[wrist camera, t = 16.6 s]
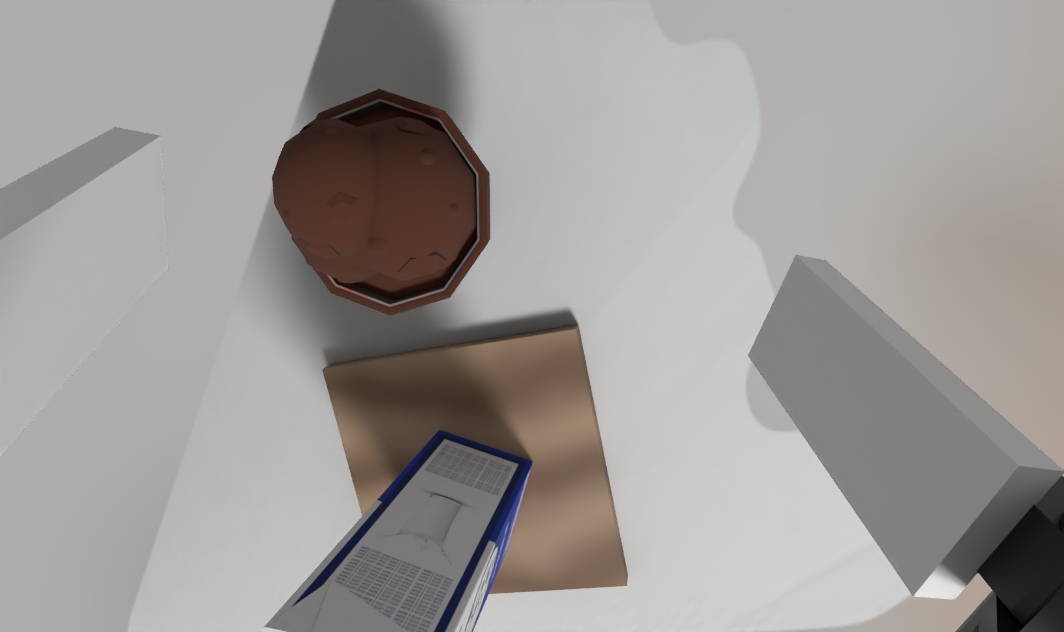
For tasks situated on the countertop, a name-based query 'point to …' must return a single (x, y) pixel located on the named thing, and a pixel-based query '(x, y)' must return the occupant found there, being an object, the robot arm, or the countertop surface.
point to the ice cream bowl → (384, 201)
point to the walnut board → (495, 443)
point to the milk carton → (418, 547)
